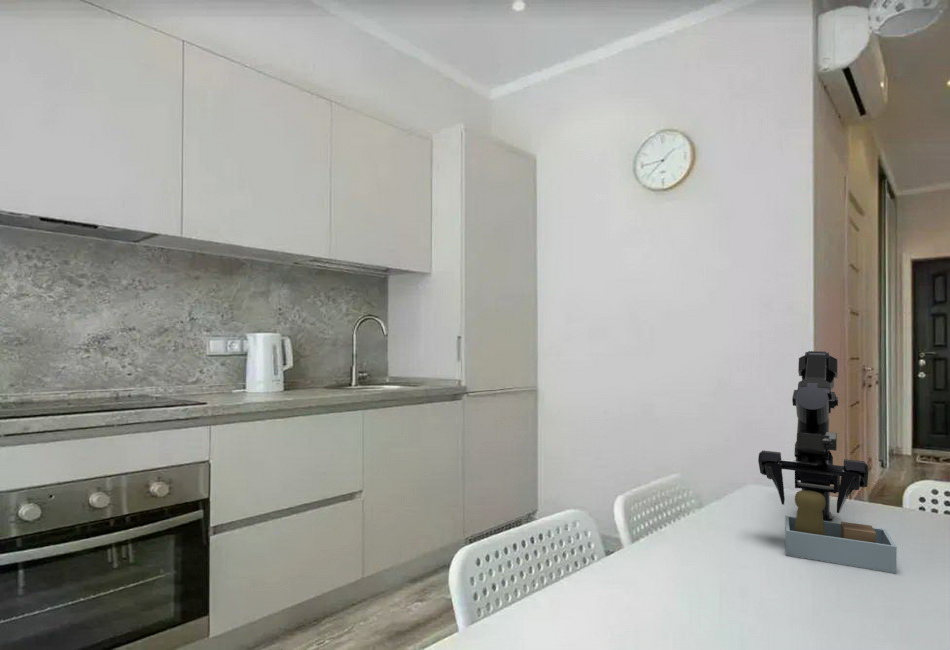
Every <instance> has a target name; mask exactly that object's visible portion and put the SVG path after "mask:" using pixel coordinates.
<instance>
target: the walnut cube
mask: <svg viewBox="0 0 950 650" xmlns="http://www.w3.org/2000/svg"><path fill="white" fill-rule="evenodd" d="M840 523H841V538H845V539H851V540H858V541H865V542H872V543H876V532H875V531H874V529H873V528H874V527H873V526H872V525H869V524H863V523H861V524H860V523H853V522H846V521H840Z"/></svg>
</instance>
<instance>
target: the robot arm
mask: <svg viewBox="0 0 950 650" xmlns="http://www.w3.org/2000/svg"><path fill="white" fill-rule="evenodd" d="M838 363H839V362H838V359H837V358H836V357H833V356H832V355H830V352H827V351H820V350H819V351H815V350H808V351H805V354H804V355H802V356H800V357H798V371H797V372H798V376H799V377H801V380H800V381H798V383H797V389H794V390H793V392H792V393H793V394H792V401H791V402H792V406H793V407H795V409H796V417H797V427H796V428H797V429H796V430H797V431H796V441H795V443H794V458H795V460H791V459H782V453H781V452H779V451H772V450H771V451H770V450H761V451H760V452H759V453H758V460H757V461H758V467H759V472H760V475H761V474H762V476H766V478H767V479H768V480H772V482H773V485H775V488H776V490H777V493H778V496H779V500H780V503H781V505H782V506H784V505H785V501H786V499H785V487H784V477H783V470H788V471H794V488H795V489H801V491H802V490H809V491H815V492H818V493H821V494H822V495H823V496H824V497H825V501H826V505H825V508H824V509H823V510H822V514H823V521H833V519H834V518H833V516H832V512H831V511H830V505H831V503H830V502H831V494H832V493H833V494H837V493H838V495H837V499H836V513H838V514H839V513H841V510H842V509H843V507H844V505H845V502H846V500H847V499H848V498H849V496H850V495H851V494H852V492H853V491H859V490H860V488H867V487H868V481H869V480H868V478H869V465H868V463H866V462H865V461H863V460H855V459H849V458H847V459H846V458H843V465H837V464H834V457H833V455H832V452H831V451H837V447H838V446H837V442H838V441H837V440H838V439H837V437H838V435H837V434H838V433H837V432H830V418H829V416H830V414H831V413H832V409H833V410H834V409H835V408H836V407H838V406H839V398H838V396H837V394H836V393H835V391H832V390H833V388H834V387H835V379H838ZM830 493H831V494H830Z"/></svg>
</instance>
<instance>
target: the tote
mask: <svg viewBox="0 0 950 650" xmlns="http://www.w3.org/2000/svg"><path fill="white" fill-rule="evenodd" d="M796 517H797V516H789V515H785V516H784V521H785V522H784V543H785V544H784V545H785V547H784V548H785V556H787V555H790V556H789V557H793V556H797V557H796V558H799V557H803V558H802V559H805V558H809V559H808V560H811V559H815V560H814V561H817V560H821V561H820V562H823V561H828V562H827V563H830V562H833V563H832V564H836V563H837V564H838V565H845V566H850V567H854V568H855V567H857V568H862V569H866V568H867V569H868V570H872V571H873V570H874V571H879V572H886V573H892V574H897V545H896V543H895V542H894V540H893V539H892V537H891V536H890V533H889V532H888V530H887V529H885V528H878V527H873V529H874V531H875V532H876V543H872V542H865V541H858V540H851V539H845V538H841V522H834V521H829V520H823V521H824V529H825V536H824V535H817V534H810V533H804V532H797V531H794V529H795V523H796Z"/></svg>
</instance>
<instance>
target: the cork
mask: <svg viewBox="0 0 950 650" xmlns="http://www.w3.org/2000/svg"><path fill="white" fill-rule="evenodd" d="M794 503H795V505H796V506H797V512H796V516H795V517H796V523H795V529H794V531H797V532H804V533H810V534H817V535H824V536H825V529H824V521H825V520H824V519H823V514H822V510H823V509H824V508H825V505H826V501H825V497H824V496H823V495H822V494H821V493H818V492H815V491H809V490H802V489H801V490H797V492H796V493H795V495H794Z"/></svg>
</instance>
